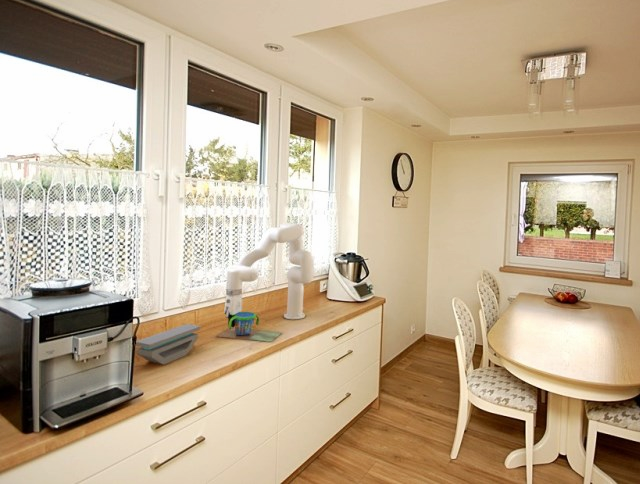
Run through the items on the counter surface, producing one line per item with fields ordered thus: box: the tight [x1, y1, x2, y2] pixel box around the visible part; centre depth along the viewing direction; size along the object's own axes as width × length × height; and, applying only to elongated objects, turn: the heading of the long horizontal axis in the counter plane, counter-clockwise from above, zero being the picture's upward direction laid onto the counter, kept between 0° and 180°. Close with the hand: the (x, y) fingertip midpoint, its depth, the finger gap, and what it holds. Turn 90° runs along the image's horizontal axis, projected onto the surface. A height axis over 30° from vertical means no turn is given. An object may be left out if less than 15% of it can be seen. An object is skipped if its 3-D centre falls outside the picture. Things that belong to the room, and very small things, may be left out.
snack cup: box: [227, 311, 260, 335], centre depth 190 cm, size 16×10×10 cm
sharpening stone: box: [135, 323, 201, 366], centre depth 157 cm, size 25×8×11 cm, turn 164°
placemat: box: [216, 327, 282, 343], centre depth 190 cm, size 13×29×1 cm, turn 85°
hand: (231, 326), depth 190 cm, fingers closed
